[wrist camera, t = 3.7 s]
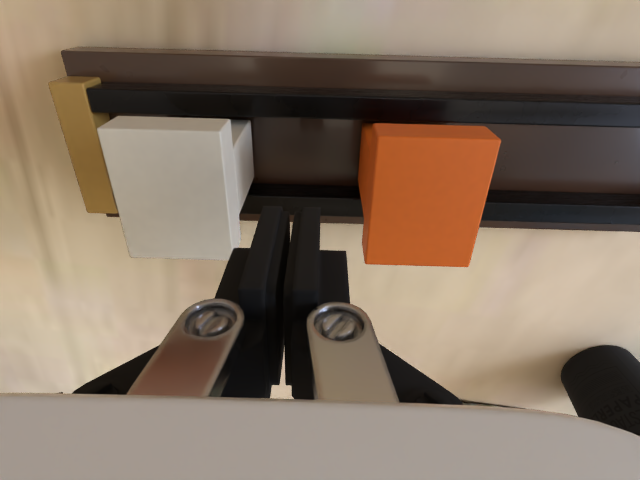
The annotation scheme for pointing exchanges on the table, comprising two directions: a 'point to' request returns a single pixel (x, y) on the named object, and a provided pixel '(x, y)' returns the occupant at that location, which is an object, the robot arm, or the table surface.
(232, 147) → the white boxy piece
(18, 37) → the table surface
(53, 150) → the table surface
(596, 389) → the drinking cup
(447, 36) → the table surface
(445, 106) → the rails
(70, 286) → the table surface
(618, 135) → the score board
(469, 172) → the orange rectangular block
